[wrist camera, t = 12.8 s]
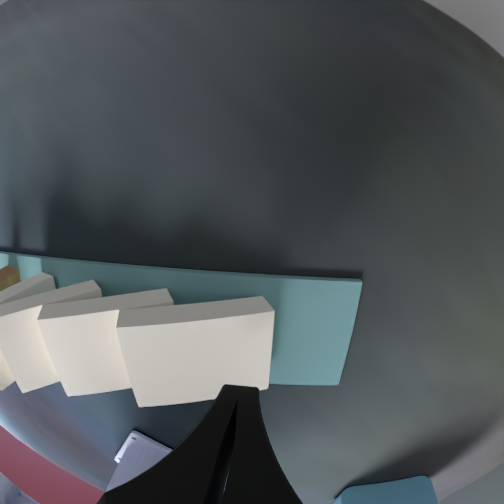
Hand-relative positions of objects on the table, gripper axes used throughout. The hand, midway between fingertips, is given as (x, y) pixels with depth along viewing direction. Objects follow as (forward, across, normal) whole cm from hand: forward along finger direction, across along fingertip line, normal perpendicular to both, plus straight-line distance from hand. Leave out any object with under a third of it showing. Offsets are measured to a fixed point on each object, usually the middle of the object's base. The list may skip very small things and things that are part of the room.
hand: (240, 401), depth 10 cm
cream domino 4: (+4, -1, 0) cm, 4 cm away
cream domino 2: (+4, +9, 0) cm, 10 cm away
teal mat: (+5, +9, 0) cm, 10 cm away
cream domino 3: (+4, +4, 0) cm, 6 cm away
